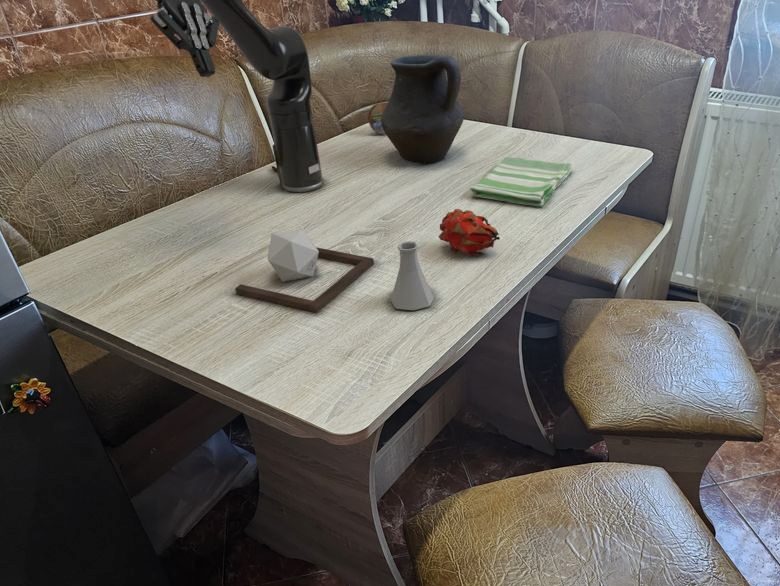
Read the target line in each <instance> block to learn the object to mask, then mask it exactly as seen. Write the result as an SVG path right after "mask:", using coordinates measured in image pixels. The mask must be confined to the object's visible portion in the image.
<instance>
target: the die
mask: <svg viewBox="0 0 780 586" xmlns="http://www.w3.org/2000/svg"><path fill="white" fill-rule="evenodd" d="M268 247H269V248H268V253H267V261H268V264H270V266H271V267H272V268H273V270H274V271H275V273H276V274H277V276H278V277H279V278H280V281H282V282H283V283H285V282H290V281H296V280H301V279H306V278H307V279H308V278H311V277H314V274H315V270H316V266H317V262H318V258H319V257H318V253H319V251H318V250H317V248H318V247H317V248H316V245H315V244H314V242H313V241H312V240H311V238H310V237H309V235H308V233H307V232H306V230H305V229H304V228H303V227H300V228H294V229H288V230H282V231H278V232H277V231H276V232H272V233H271V236H270V242H269V246H268Z"/></svg>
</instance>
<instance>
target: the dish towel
mask: <svg viewBox="0 0 780 586" xmlns="http://www.w3.org/2000/svg"><path fill="white" fill-rule="evenodd" d="M572 165H573V164H572V163H569V162H568V163H567V162H561V163H559V162H558V163H557V162H549V161H542V160H535V159H526V158H520V157H505V158H503V159H502V160H501V161H500V162H499V163H498V164H497V165H496V166H495V167H494V168H492V170H491V171H490V172H489V173H487V174H486V175H485V176H484V177H483V178H482V179H480V180H478V182H476V183H475V184H474V185H472V186H470V187H469V190H470V192H471V193H472V194H473V195H474V197H477V198H483V199H489V200H496V201H501V202H505V203H513V204H517V205H518V204H519V205H523V206H532V207H540V208H542V207H543V206H544V205H545V204H546V202H547V201H548V199H549V198H550V197H551V196H552V195H551V194H552V193H553V192H554V191H555V190H556V189H557V188H558V187H559V186H560V185H561V184H562V182H563V181H564V180H565V179H566V178H567V177H568V176H569V175H570V173H571V172H572V170H573V168H572Z"/></svg>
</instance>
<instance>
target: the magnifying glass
mask: <svg viewBox="0 0 780 586" xmlns="http://www.w3.org/2000/svg"><path fill="white" fill-rule="evenodd" d="M387 103H388V101H383V102H378V103H375V104H374V105H373V106H372V107H371V108H370V109H369V111H368V113H367V114H368V115H367V120H368V125H369V126H370V128H371V129H372V130H373V131H374V132H375V133H377V134H378V135H383V136H387V135H386V134H385V132H384V130H383V128H382V125H381V116H382V113H383V111H384V109H385V107H386V105H387Z"/></svg>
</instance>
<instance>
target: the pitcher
mask: <svg viewBox="0 0 780 586" xmlns="http://www.w3.org/2000/svg"><path fill="white" fill-rule="evenodd" d="M390 66H391V68H392V69H393V71H394V75H395V77H394V83H393V87H392V91H391V95H390V97H389V99H388V101H387V102H388V103H387V105H386V107H385V109H384V111H383V113H382V116H381V125H382V128H383V130H384V132H385V134H386V135H385V136H386V137H387V138H388V140H389V141H390V143H391V144H392V145H393V147H394V148H395V149H396V151H397V153H398V154H399V156H400V157H401V159H403V160H404V161H406V162H409V163H414V164H434V163H437V162H441V161H442V160H444V159H445V158H446V156H447V154H448V152H449V151H450V149H451V147H452V145H453V142H454V141H455V139H456V136H457V135H458V133H459V131H460V129H461V127H462V125H463V123H464V117H465V113H464V109H463V107H462V105H461V104H460V102H459V101H458V99H457V98H458V96H459V94H460V93H459V92H460V89H461V84H462V71H461V68H460V65H459V63H458V61H457V59H456V58H455V57H453V56H452V55H449V54H442V55H439V54H431V55H429V54H415V55H414V54H412V55H403V56H400V57H397V58H394V59H393V60H391V61H390Z"/></svg>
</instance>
